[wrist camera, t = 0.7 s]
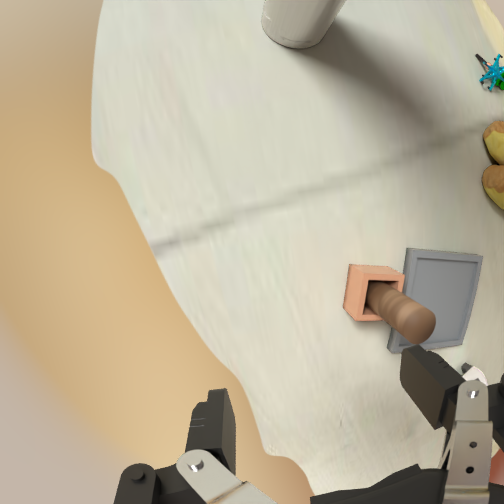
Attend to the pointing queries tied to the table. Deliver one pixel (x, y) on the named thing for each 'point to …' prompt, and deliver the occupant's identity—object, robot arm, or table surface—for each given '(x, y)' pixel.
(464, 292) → the tray
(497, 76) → the stick construction toy
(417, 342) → the dowel
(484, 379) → the giant panda
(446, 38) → the table surface
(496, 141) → the giraffe plush
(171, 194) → the table surface
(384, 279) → the pencil cup
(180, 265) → the table surface
